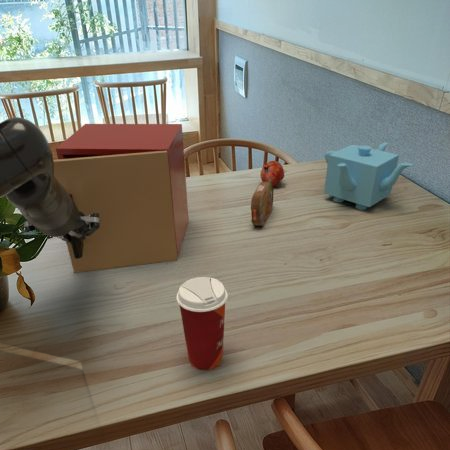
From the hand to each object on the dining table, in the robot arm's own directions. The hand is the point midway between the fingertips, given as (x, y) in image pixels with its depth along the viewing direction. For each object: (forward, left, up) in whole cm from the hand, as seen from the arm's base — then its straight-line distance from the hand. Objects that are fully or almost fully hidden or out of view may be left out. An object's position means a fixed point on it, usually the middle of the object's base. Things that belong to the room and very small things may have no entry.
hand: (75, 237), depth 87 cm
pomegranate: (+40, +55, -11) cm, 68 cm away
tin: (+37, +32, -11) cm, 49 cm away
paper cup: (+28, -21, -11) cm, 37 cm away
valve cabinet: (+7, +20, -10) cm, 23 cm away
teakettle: (+64, +44, -11) cm, 78 cm away
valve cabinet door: (+8, +4, -10) cm, 14 cm away
